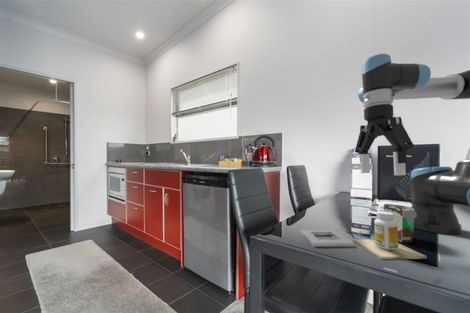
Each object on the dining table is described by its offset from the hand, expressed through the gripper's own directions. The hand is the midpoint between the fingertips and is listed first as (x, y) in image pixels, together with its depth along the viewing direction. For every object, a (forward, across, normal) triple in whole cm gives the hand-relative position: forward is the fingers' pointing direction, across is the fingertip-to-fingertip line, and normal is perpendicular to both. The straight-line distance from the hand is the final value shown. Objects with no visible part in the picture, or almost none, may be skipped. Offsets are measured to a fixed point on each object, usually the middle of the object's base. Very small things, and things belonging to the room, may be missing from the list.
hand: (380, 174), depth 63 cm
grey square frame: (+21, -5, -16) cm, 27 cm away
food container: (+22, -5, +11) cm, 25 cm away
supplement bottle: (+21, +4, -2) cm, 21 cm away
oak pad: (+21, +4, -2) cm, 22 cm away
